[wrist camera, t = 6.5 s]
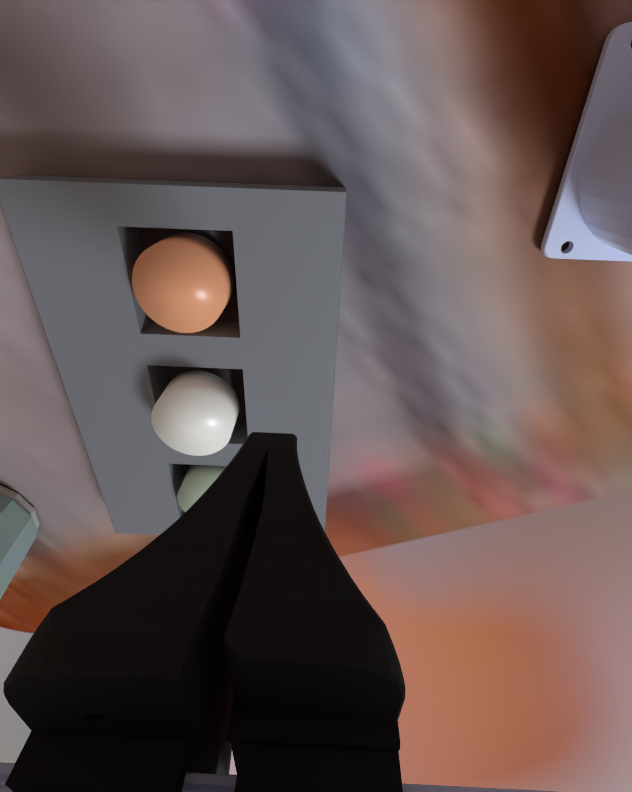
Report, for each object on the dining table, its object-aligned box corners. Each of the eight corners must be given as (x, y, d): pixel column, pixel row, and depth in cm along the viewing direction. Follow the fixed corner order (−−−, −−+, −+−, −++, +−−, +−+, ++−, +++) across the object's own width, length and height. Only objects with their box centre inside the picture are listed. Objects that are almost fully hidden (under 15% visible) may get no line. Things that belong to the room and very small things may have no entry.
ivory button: (236, 372, 21) (228, 392, 19) (241, 434, 23) (235, 457, 21) (159, 368, 21) (144, 389, 19) (171, 430, 23) (158, 453, 21)
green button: (247, 456, 25) (241, 479, 23) (251, 501, 27) (245, 525, 26) (183, 453, 25) (172, 476, 24) (191, 499, 27) (182, 523, 26)
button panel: (345, 187, 18) (346, 192, 16) (324, 518, 29) (324, 542, 27) (24, 174, 18) (-9, 178, 16) (127, 509, 29) (115, 532, 27)
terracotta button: (230, 234, 18) (220, 243, 17) (237, 318, 20) (228, 334, 19) (142, 230, 18) (122, 239, 17) (157, 315, 20) (142, 331, 19)
